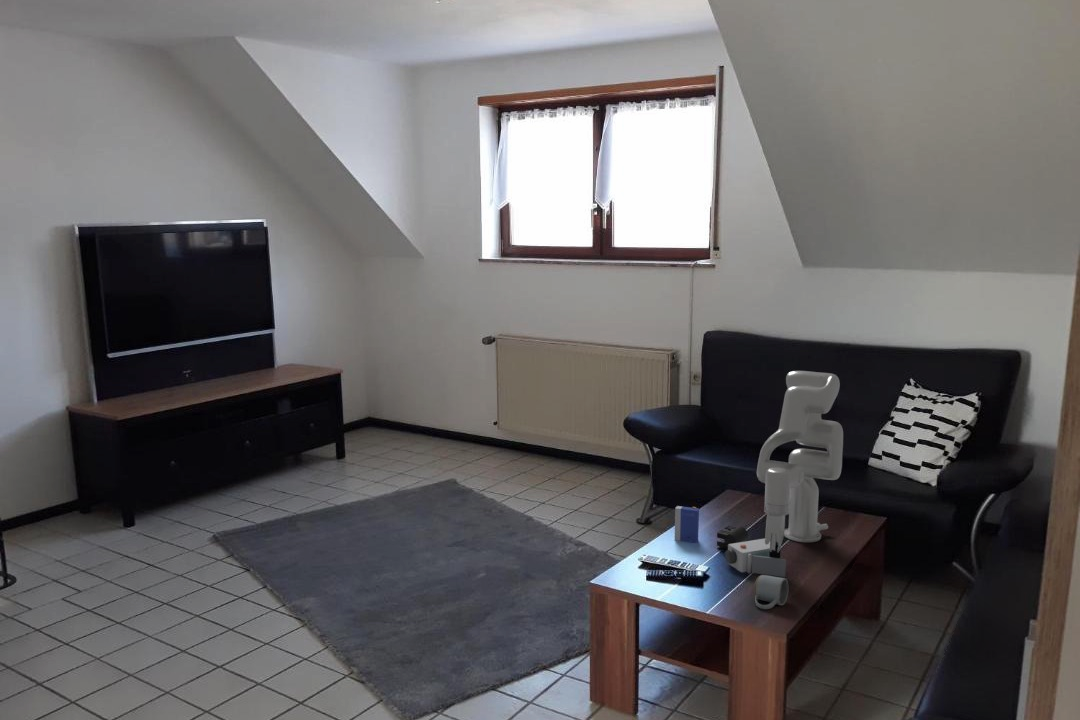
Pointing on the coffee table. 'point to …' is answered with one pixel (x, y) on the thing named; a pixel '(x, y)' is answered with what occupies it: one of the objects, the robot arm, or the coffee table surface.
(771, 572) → the side door
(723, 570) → the coffee table surface
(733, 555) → the camera body
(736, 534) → the power tool battery
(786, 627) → the coffee table surface
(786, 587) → the ceramic mug
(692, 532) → the walkman
